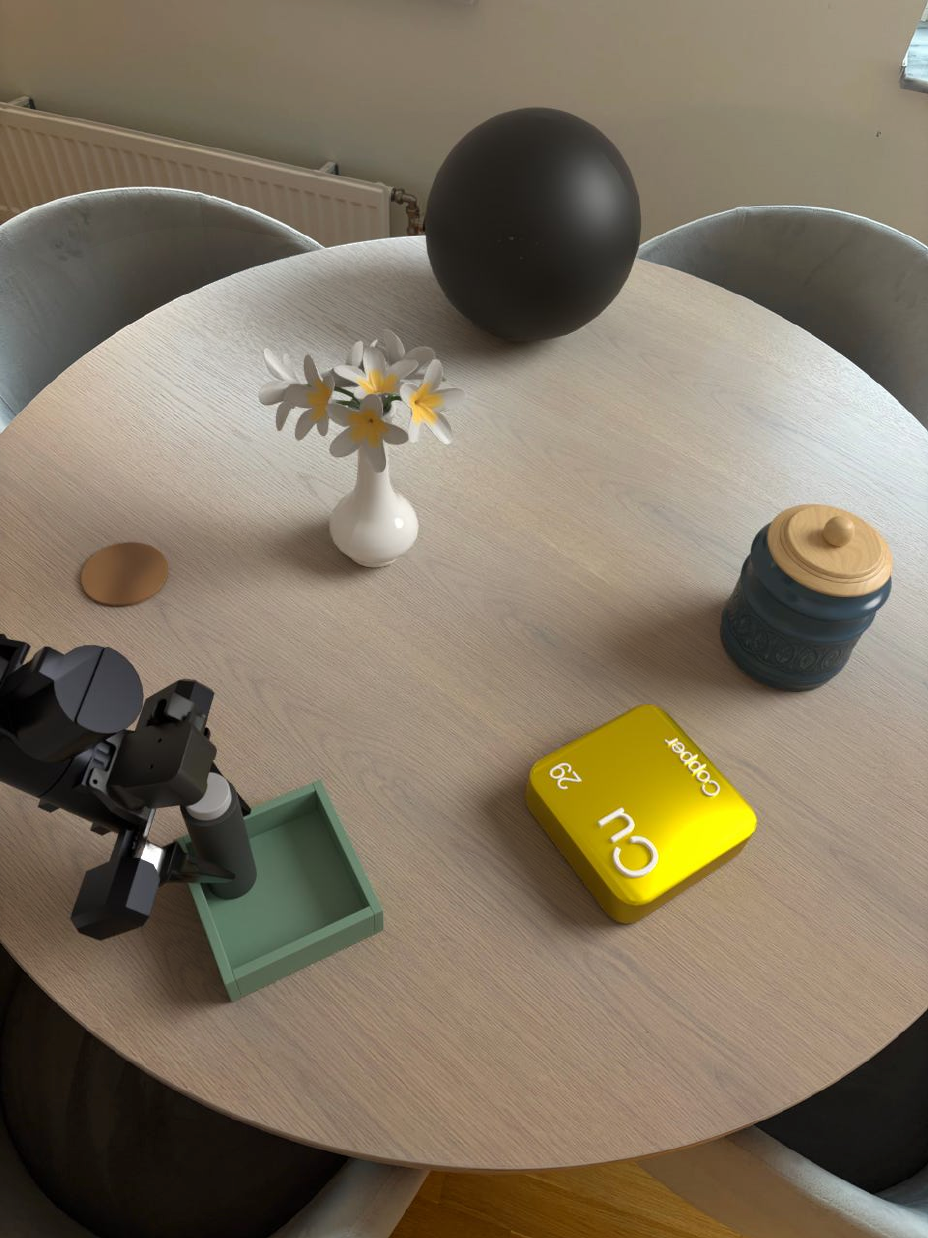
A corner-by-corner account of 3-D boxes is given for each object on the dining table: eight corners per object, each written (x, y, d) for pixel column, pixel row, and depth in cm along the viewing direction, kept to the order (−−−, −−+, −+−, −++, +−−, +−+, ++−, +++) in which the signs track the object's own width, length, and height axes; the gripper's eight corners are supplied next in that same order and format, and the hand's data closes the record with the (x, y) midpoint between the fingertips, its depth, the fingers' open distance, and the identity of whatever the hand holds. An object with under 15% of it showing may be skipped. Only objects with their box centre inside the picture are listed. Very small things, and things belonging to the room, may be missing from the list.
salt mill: (216, 908, 76) (186, 827, 64) (200, 865, 78) (169, 780, 67) (263, 887, 77) (243, 804, 66) (247, 845, 79) (224, 758, 68)
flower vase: (289, 502, 105) (266, 303, 86) (455, 511, 106) (470, 315, 86) (273, 591, 97) (243, 394, 78) (452, 600, 98) (468, 407, 78)
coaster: (93, 617, 94) (92, 615, 93) (72, 559, 98) (71, 556, 98) (178, 590, 96) (178, 587, 96) (154, 535, 101) (153, 532, 101)
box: (231, 1002, 72) (224, 985, 68) (181, 861, 78) (172, 839, 75) (383, 930, 76) (383, 910, 73) (323, 802, 83) (320, 779, 79)
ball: (414, 268, 136) (419, 65, 115) (597, 267, 139) (634, 70, 118) (430, 386, 120) (439, 174, 99) (637, 382, 123) (689, 177, 102)
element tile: (753, 846, 83) (770, 821, 79) (619, 935, 77) (631, 912, 73) (643, 720, 90) (655, 692, 86) (514, 793, 84) (520, 766, 81)
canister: (836, 712, 92) (915, 595, 78) (705, 669, 94) (759, 548, 80) (849, 616, 100) (923, 494, 86) (728, 579, 102) (782, 454, 88)
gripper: (73, 859, 54) (284, 947, 62) (164, 606, 65) (330, 710, 74) (-19, 900, 60) (184, 975, 68) (79, 662, 72) (242, 752, 80)
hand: (240, 845), depth 73 cm, fingers open, 5 cm apart
